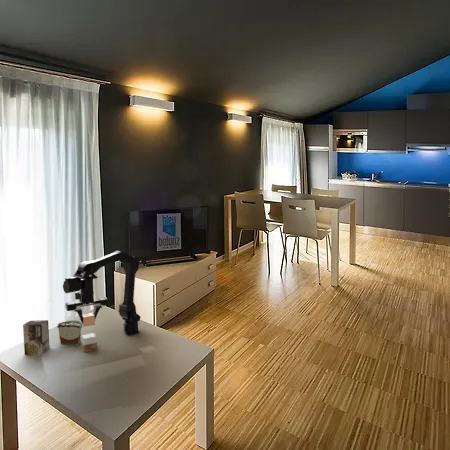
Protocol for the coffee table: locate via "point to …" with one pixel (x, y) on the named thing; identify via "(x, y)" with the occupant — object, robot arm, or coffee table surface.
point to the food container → (70, 332)
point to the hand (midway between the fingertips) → (88, 321)
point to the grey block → (88, 338)
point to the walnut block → (89, 347)
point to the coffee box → (36, 337)
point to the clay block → (88, 319)
